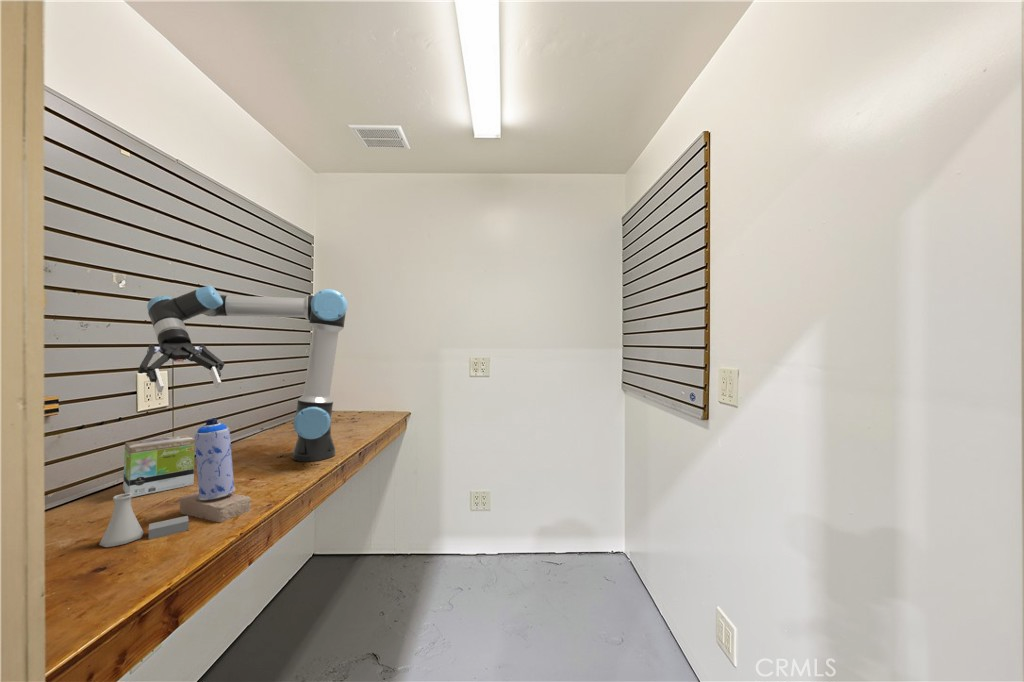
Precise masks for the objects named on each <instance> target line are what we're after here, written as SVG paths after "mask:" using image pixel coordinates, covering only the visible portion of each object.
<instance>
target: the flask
mask: <svg viewBox="0 0 1024 682" xmlns="http://www.w3.org/2000/svg"><path fill="white" fill-rule="evenodd" d="M132 495H133V494H132V493H120V494H117V495H114V496H113V497H112V500H113V501H114V507H113V510H112V511H113V512H112V515H111V518H110V520H109V522H108V524H107V528H106V529H105V531H104V534H103V536H102V538H101V540H100V542H99V546H100V547H101V546H102V547H104V548H111V547H116V546H121V545H125V544H128V543H131V542H134V541H137V540H140V539H141V538H142V537H143V535H144V533H145V532H144V530H143V528H142V526H141V524H140V522H139V521H138V519H137V517H136V515H135V512H134V511H133V506H132V498H133V497H132ZM131 497H132V498H131Z"/></svg>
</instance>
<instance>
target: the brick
mask: <svg viewBox="0 0 1024 682" xmlns="http://www.w3.org/2000/svg"><path fill="white" fill-rule="evenodd" d="M198 497H199V490H198V491H196V492H193V493H191V494H188V495H185V496H182V497H180V500H179V512H180V514H182V515H185V514H187V515H186V516H188V517H193V516H195V517H194V518H198V517H199V519H203V518H204V519H203V520H207V519H209V520H208V521H211V522H215V521H216V523H224V522H226V521H229V520H232V519H233V517H234V518H237V517H239V516H241V514H242V515H244V514H243V513H245V512H247V513H249V512H248V511H250V510H251V511H252V508H251V506H252V503H251V501H252V500H251V496H248V495H245V494H237V493H236V494H235V493H231V494H229V495H226V496H223V497H220V498H216V499H210V500H199V498H198ZM251 511H250V512H251ZM245 514H246V513H245ZM238 515H239V516H238ZM236 516H237V517H236ZM223 521H224V522H223Z"/></svg>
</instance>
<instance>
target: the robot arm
mask: <svg viewBox="0 0 1024 682" xmlns="http://www.w3.org/2000/svg"><path fill="white" fill-rule="evenodd" d="M146 307H147V314H148V317H149V318H150V322H151V324H152V328H153V331H154V334H155V336H156V339H157V342H158V346H155V344H153V343H150V344H149V345H148V347H147V350H146V355H145V356H144V358H143V360H142V361H141V363H140V364H139V366H138V369H137V370H138V371H137V372H138V374H146V377H148V378H149V382H150V383H154V384H155V387H156V391H157V393H162V392H163V390H164V387H165V385H164V382H163V378H162V375H161V372H160V368H161V367H162V366H163V365H164V364H166V363H167V362H169V360H173V361H177V360H178V361H179V360H181V361H182V360H183V361H184V360H185V361H186V360H188V361H190V362H194V363H196V364H198V365H200V366H202V367H203V368H205V369H207V370H209V375H210V377H211V380H212V382H213V385H214V387H215V389H220V386H221V384H222V380H221V376H222V372H221V371H222V370H223V368H224V366H225V362H224V361H222V360H221V359H220V358H219V357H217V356H216V355H215V354H214V353H212V352H211V351H210V350H209V349H207V347H206V345H205V344H200V345H199V346H194V345H193V344H192V341H191V338H190V336H189V335H190V334H189V333H188V330H187V327H186V325H185V322H184V321H186V320H187V321H188V320H190V319H192V318H195V317H196V316H200V315H204V316H207V317H260V318H261V317H262V318H263V317H269V318H305V319H306V320H307V321H308V323H309V324H308V325H309V326H310V327H311V328H312V334H311V342H310V348H309V354H308V363H307V369H306V375H305V383H304V389H303V394H302V395H301V396H300V397H299V398H298V399H297V405H296V412H295V417H294V419H293V421H292V423H293V424H292V425H293V429H294V431H295V432H296V434H297V440H296V443H295V446H294V449H293V451H292V460H293V459H294V460H293V461H295V460H297V461H296V462H315V461H317V462H318V461H321V460H326V459H329V458H332V457H334V456H336V447H335V443H334V442H333V439H332V434H331V431H332V426H331V425H332V414H333V413H332V411H333V404H334V400H333V399H332V397H330V395H331V386H332V382H333V376H334V375H333V374H334V369H335V368H334V366H335V359H336V351H337V345H338V338H339V333H340V331H342V330H344V327H345V321H346V313H347V310H348V301H347V299H346V297H345V296H344V295H343V294H342V293H341V292H339V291H337V290H335V289H333V288H325V289H322V290H319V291H317V292H316V293H315V294H314V295H307V296H305V297H282V296H281V297H278V296H277V297H276V296H251V295H228V294H227V295H225V294H224V295H223V294H220V293H219V292H218V291H217V290H216V289H215V287H214V286H212V285H206V286H202V287H199V288H197V289H195V290H192V291H189V292H188V293H187V292H186V293H185V294H183V295H179V296H177V297H173V298H172V297H170V296H167V295H163V296H155V297H152V298H150V300H149V301H148V302H147V305H146ZM158 352H159V353H160V354H162V355H161V356H160V357H159V358H158V359H156V360H155V361H154V362H153V363H152V364H150V362H151V360H152V359H153V357H154V355H156V354H157V353H158ZM149 364H150V365H149Z"/></svg>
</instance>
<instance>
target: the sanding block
mask: <svg viewBox="0 0 1024 682" xmlns="http://www.w3.org/2000/svg"><path fill="white" fill-rule="evenodd" d="M189 522H190V520H189V515H185V516H179V517H176V518H171V519H166V520H162V521H157V522H152V523H149V524H148V540H153V539H157V538H161V537H167V536H171V535H175V534H178V532H179V533H182V532H183V531H184V532H187V531H186V530H188V531H189V527H190V526H189V525H190V524H189ZM184 532H183V533H184ZM174 533H175V534H174ZM170 534H171V535H170Z"/></svg>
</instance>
